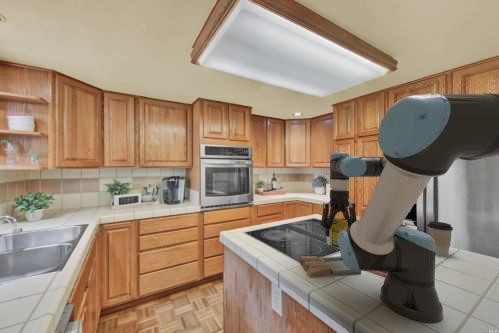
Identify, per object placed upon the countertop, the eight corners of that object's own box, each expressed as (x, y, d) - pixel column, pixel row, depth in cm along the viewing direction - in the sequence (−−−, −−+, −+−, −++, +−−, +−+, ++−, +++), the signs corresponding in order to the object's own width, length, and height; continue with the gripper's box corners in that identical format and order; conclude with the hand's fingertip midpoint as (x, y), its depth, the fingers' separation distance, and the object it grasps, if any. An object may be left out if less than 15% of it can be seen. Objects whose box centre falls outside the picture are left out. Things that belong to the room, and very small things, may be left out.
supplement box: (344, 249, 84) (344, 221, 84) (329, 245, 88) (329, 219, 88) (348, 244, 89) (348, 219, 89) (333, 241, 92) (333, 216, 92)
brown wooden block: (323, 272, 85) (323, 264, 85) (306, 272, 85) (306, 264, 85) (316, 263, 93) (316, 256, 93) (301, 263, 93) (301, 256, 93)
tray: (361, 273, 83) (361, 268, 83) (333, 276, 81) (333, 271, 81) (343, 260, 95) (343, 256, 95) (318, 262, 93) (318, 257, 93)
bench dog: (330, 275, 81) (330, 264, 81) (311, 277, 80) (311, 265, 80) (326, 271, 84) (326, 260, 84) (307, 273, 83) (307, 262, 83)
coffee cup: (458, 259, 98) (458, 226, 98) (435, 257, 99) (435, 225, 99) (444, 251, 107) (444, 221, 107) (422, 249, 109) (423, 220, 109)
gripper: (355, 188, 93) (355, 239, 93) (312, 188, 90) (311, 241, 90) (368, 190, 86) (367, 245, 86) (320, 190, 83) (320, 248, 83)
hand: (338, 243), depth 88 cm, fingers closed on supplement box, 8 cm apart
